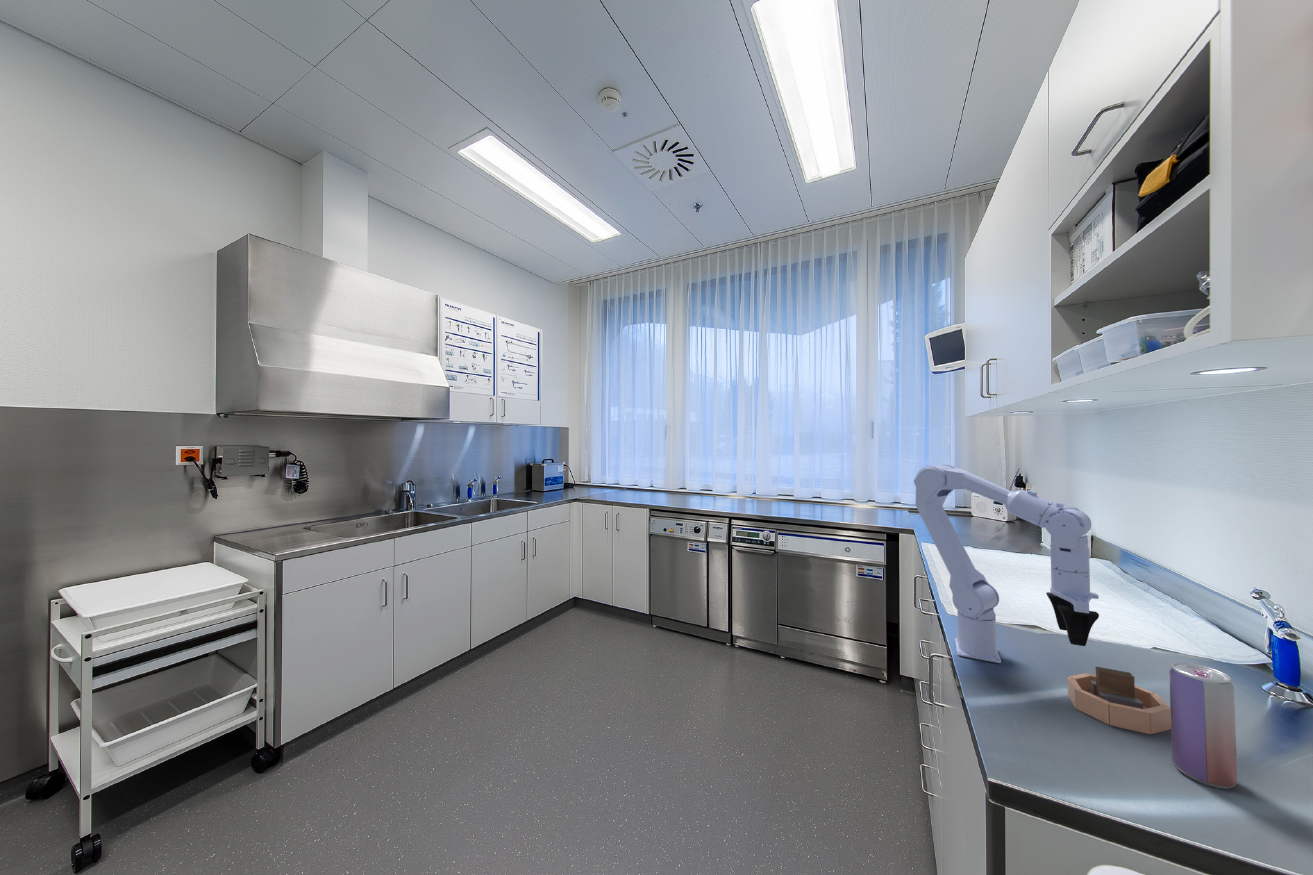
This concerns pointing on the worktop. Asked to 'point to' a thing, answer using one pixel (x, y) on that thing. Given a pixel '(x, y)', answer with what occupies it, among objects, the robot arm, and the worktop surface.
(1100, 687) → the brown rectangular block
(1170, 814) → the worktop surface
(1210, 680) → the beverage can
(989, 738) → the worktop surface
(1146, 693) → the tan octagonal tray
